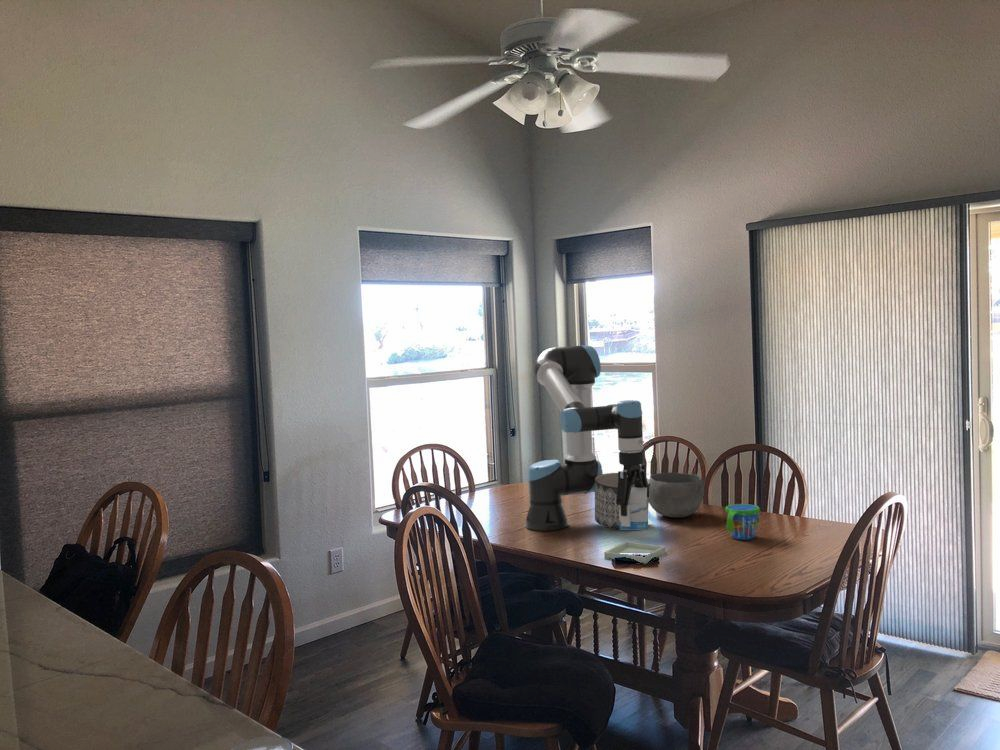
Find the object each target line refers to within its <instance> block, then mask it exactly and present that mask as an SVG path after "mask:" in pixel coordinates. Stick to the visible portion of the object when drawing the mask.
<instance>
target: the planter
mask: <svg viewBox="0 0 1000 750" xmlns="http://www.w3.org/2000/svg"><path fill="white" fill-rule="evenodd" d="M649 479H650V478H647V482H648V487H649V490H650V480H649ZM632 487H635V485H634V484H633V485H632ZM617 488H618V472H607V473H603V474H601V475H598V476H597V477H595V492H594V520H595V522H596V523H597V524H599V525H600V526H603V527H606V528H610V529H614V530H620V524H619V505H617V504H616V498H617ZM647 504H648V505H650V504H649V497H648V498H647ZM620 531H621V530H620Z"/></svg>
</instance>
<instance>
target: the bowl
mask: <svg viewBox="0 0 1000 750" xmlns="http://www.w3.org/2000/svg"><path fill="white" fill-rule="evenodd" d="M648 479H649V480H650V490H649V504H648V505H649V506H651V508H652V509H653V510H654V511H655V512H656V513H658V514H660V515H661V516H664V517H669V518H675V519H676V518H677V519H678V518H680V519H681V518H687V517H689V516H692V515H693V514H694V513H696V512H697V511H698V509H699V508H700V507H701V504H702V502H703V500H704V494H705V485H704V481H703V479H702V477H701V475H698V474H693V473H681V472H660V473H654V474H652V475H651V476H649V478H648Z"/></svg>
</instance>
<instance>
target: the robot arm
mask: <svg viewBox="0 0 1000 750" xmlns="http://www.w3.org/2000/svg"><path fill="white" fill-rule="evenodd" d="M601 367H602V366H601V361H600V357H599V354H598V352H597V350H596V349H595V348H594V347H593V346H592V345H570V346H553V347H550V348H547V349H545V350H543V351H542V352H541V353H540V354H539V355H538V356H537V358H536V360H535V362H534V367H533V372H534V376H535V378H536V381H537V382H538V383H539V384H540V385H541V386H544V387H545V389H546V391H547V392H548V394H549V396H550V398H551V399H552V400H553V402H554V404H555V405H556V407H557V408H558V410H559V411H560V413H559V425H560V428H561V430H562V431H563V432H564V433H567V440H568V441H567V442H568V443H567V444H568V446H567V447H568V449H567V450H568V453H567V454H566V455H565V456H564V460H563V461H564V462H562V463H561V462H560V460H558V459H547V460H546V459H544V460H541V461H537V462H535V463H532V464H531V465H530V466H528V470H527V471H528V475H527V480H528V496H529V498H528V499H529V508H528V511H527V515H526V520H525V527H526V529H529V530H532V531H556V530H561V529H564V528H566V527H568V523H569V522H568V517H567V514H566V512H565V509H564V506H563V501H562V500H563V499H562V497H563V496H573V495H580V494H582V495H586V494H591V493H595V477H597V476H598V475H601V474H604V472H603V469H602V468H603V467H602V464H601V461H599V460H597V456H596V455H595V454H594V453H593V441H592V440H593V439H592V436H593V434H592V432H595V431H607V430H617V440H618V441H617V442H618V443H617V444H618V445H617V446H618V450H619V453H618V464H620V465H622V466H623V468H622V470H621V471H620V470H619V471H618V472H617V473H618V488H617V498H616V504H617V505H620V508H621V526H626V527H630V505H628V501H629V497H630V492H631V487H632V485H633V484H634V485H635V487H639V488H643V487H646V488H647V498H648V497H649V487H648V482H647V479H648V478H647V473H646V465H645V464H644V462H645V458H644V457H645V455H644V454H645V453H644V451H643V450H644V443H645V441H644V438H643V437H644V435H643V432H644V431H643V411H642V403H641V402H640V401H639V400H633V399H632V400H631V399H630V400H620V401H618V402H617V403H616V404H615V403H614V404H607V405H602V406H592V395H591V394H592V387H593V386H594V384H596V379H597V378H598V377H599V376H601V375H600V374H601V371H602V368H601Z"/></svg>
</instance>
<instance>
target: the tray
mask: <svg viewBox="0 0 1000 750" xmlns="http://www.w3.org/2000/svg"><path fill="white" fill-rule="evenodd" d="M620 553H650V554H648V555H647V556H645V557H643V556H635V555H628V554H620ZM666 553H667V547H666V546H665V545H658V544H650V543H642V542H633V541H624V542H622V543H619V544H618V545H616V546H614V547H612V548H609V549H608V550H606V551H604V552H603V556H604V559H605V560H611V559H612V558H613V557H626V558H631V559H634V560H636V561H638V562H640V563H643V564H642V565H647V563H648V562H649V561H650V560H651V559H652V558H654V557H658V558H660V557H661V556H662V555H665V554H666ZM640 563H639V564H640ZM649 563H650V562H649ZM649 563H648V564H649Z"/></svg>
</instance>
